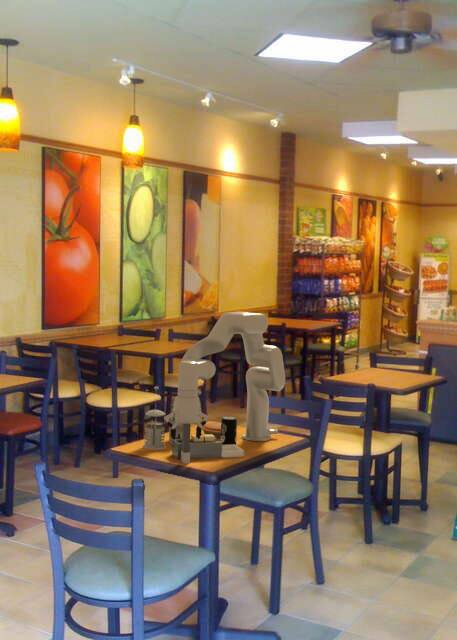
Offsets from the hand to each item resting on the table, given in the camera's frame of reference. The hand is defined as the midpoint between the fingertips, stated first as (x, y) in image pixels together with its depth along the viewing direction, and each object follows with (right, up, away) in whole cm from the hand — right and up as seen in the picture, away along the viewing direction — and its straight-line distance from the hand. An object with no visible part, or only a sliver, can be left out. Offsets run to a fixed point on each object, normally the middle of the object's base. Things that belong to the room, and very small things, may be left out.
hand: (185, 438), depth 292 cm
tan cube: (+4, -5, +10) cm, 12 cm away
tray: (+16, -9, +16) cm, 24 cm away
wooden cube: (+8, -5, +12) cm, 15 cm away
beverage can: (+16, -8, +30) cm, 35 cm away
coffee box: (-6, -7, +34) cm, 35 cm away
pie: (+12, -7, +48) cm, 50 cm away
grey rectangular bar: (0, -9, +1) cm, 9 cm away
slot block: (+4, -9, +11) cm, 14 cm away
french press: (-14, -7, +22) cm, 27 cm away
